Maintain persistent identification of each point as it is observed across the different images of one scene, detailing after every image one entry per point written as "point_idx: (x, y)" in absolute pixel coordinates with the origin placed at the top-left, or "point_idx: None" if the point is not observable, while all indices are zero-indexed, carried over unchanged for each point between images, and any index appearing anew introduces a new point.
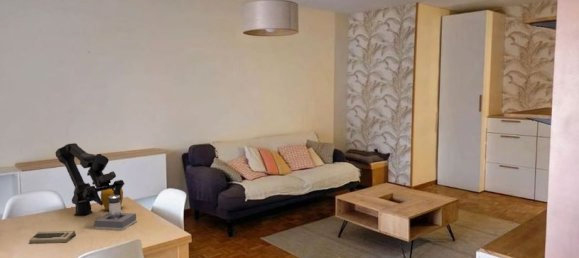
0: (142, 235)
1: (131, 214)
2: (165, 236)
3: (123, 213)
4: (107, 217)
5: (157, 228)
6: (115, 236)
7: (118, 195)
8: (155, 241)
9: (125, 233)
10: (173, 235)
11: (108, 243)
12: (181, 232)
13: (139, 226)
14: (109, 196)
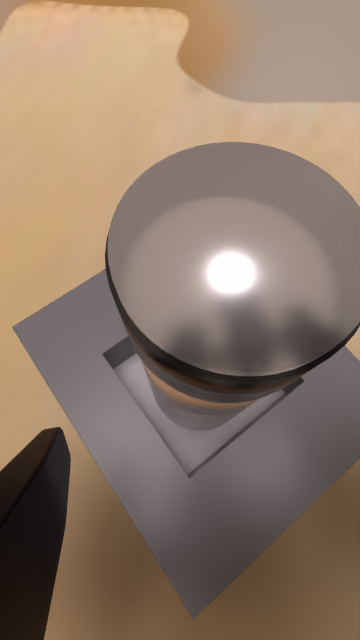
0: (155, 109)
1: (56, 328)
2: (84, 42)
3: (92, 424)
4: (272, 411)
5: (38, 141)
6: None
7: (131, 242)
8: (149, 27)
9: None
10: (52, 32)
11: (332, 123)
12: (2, 37)
13: (89, 237)
14: (341, 314)
